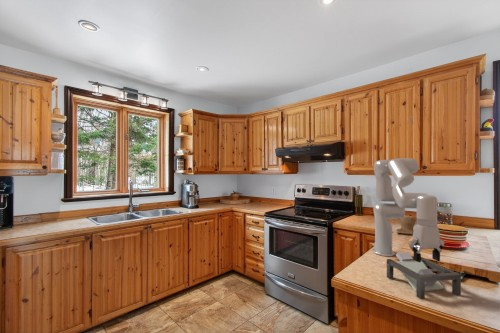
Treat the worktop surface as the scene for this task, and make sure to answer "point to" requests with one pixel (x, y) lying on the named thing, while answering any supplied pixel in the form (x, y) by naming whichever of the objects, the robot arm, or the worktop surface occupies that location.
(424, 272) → the grey cube
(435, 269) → the decorative rock
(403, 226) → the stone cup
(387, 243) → the robot arm
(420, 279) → the frame
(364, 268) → the worktop surface
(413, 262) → the trapdoor
